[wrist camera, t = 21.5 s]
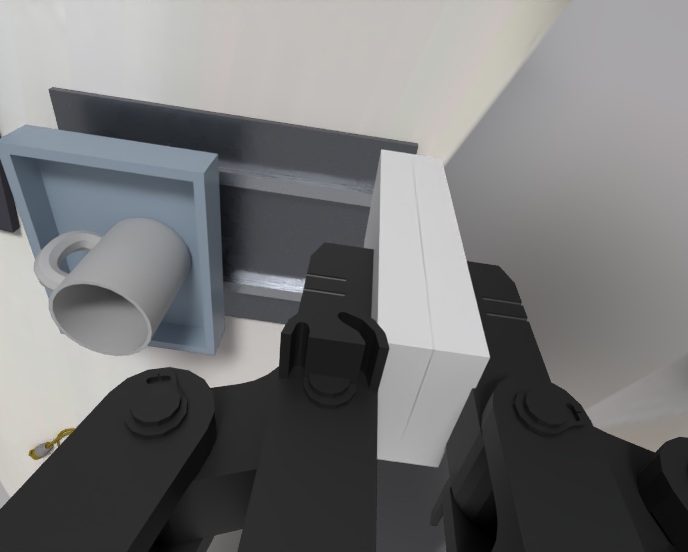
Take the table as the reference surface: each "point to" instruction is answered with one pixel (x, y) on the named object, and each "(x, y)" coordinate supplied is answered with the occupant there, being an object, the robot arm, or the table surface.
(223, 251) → the track
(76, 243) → the cup
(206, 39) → the table surface
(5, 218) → the notebook
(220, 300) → the cart
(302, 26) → the table surface
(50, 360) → the table surface
